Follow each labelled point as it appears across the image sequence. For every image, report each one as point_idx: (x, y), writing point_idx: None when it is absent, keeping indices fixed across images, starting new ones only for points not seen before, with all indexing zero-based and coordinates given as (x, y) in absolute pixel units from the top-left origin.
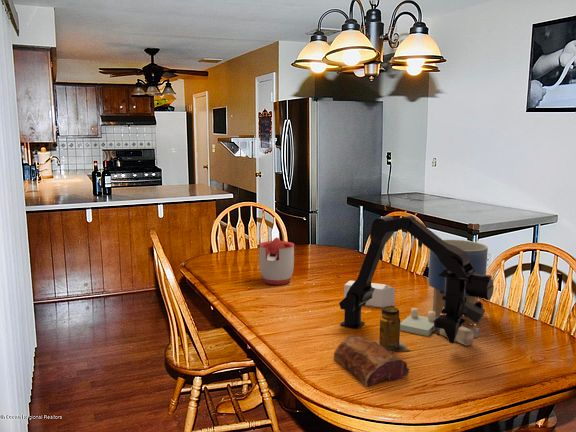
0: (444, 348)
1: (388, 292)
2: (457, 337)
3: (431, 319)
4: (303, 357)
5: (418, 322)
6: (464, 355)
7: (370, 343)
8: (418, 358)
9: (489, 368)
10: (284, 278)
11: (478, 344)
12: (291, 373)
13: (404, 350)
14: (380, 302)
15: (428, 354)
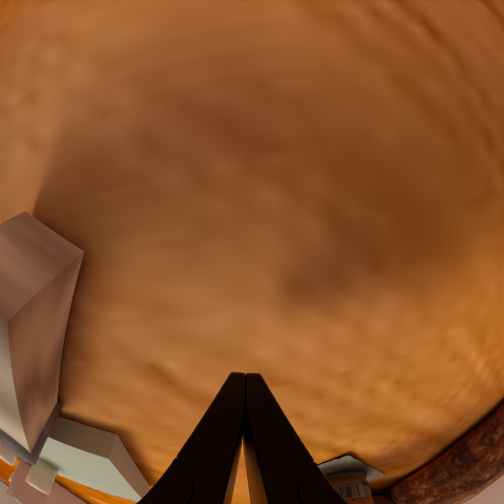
0: (224, 372)
1: (24, 495)
2: (51, 341)
3: None
4: None
5: (70, 466)
6: (290, 219)
7: (482, 489)
8: (421, 409)
9: (441, 21)
10: None
11: (5, 176)
12: None
13: (356, 460)
14: (51, 490)
15: (366, 404)
